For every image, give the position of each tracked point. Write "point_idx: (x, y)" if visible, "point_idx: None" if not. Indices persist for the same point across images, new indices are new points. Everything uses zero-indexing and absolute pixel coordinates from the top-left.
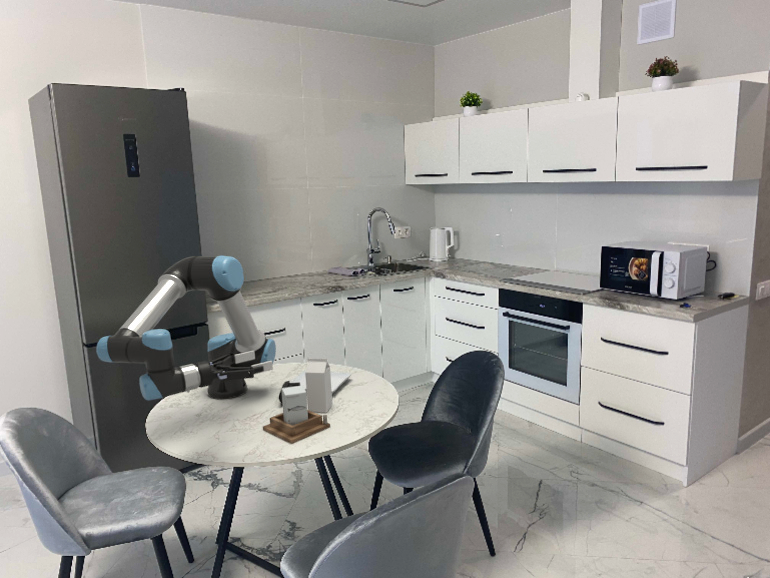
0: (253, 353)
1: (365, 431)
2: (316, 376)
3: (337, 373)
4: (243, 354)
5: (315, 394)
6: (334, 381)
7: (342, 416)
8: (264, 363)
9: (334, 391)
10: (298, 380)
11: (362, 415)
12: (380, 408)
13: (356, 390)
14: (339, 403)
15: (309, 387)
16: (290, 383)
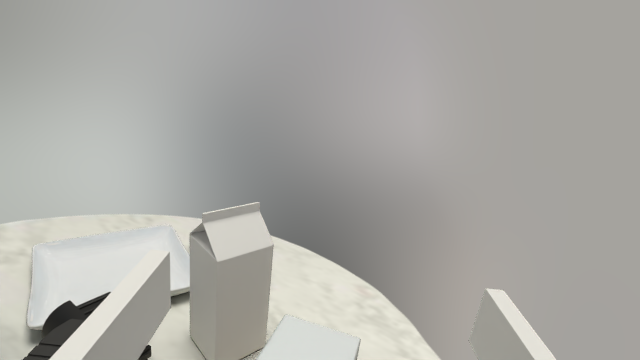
0: (166, 272)
1: (426, 351)
2: (251, 262)
3: (135, 232)
4: (118, 323)
5: (242, 314)
6: (144, 252)
7: None
8: (536, 338)
9: None
10: (43, 282)
11: (341, 311)
12: (334, 279)
13: None
14: None
15: (227, 302)
16: (81, 308)
